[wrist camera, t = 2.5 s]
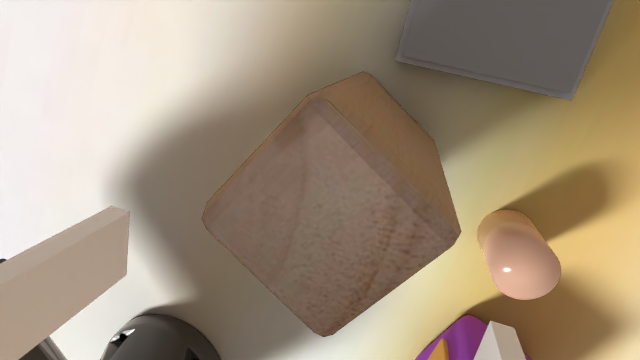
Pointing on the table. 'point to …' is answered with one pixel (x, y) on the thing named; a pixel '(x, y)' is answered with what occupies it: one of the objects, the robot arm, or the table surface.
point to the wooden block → (337, 204)
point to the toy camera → (457, 341)
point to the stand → (506, 40)
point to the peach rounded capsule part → (517, 255)
